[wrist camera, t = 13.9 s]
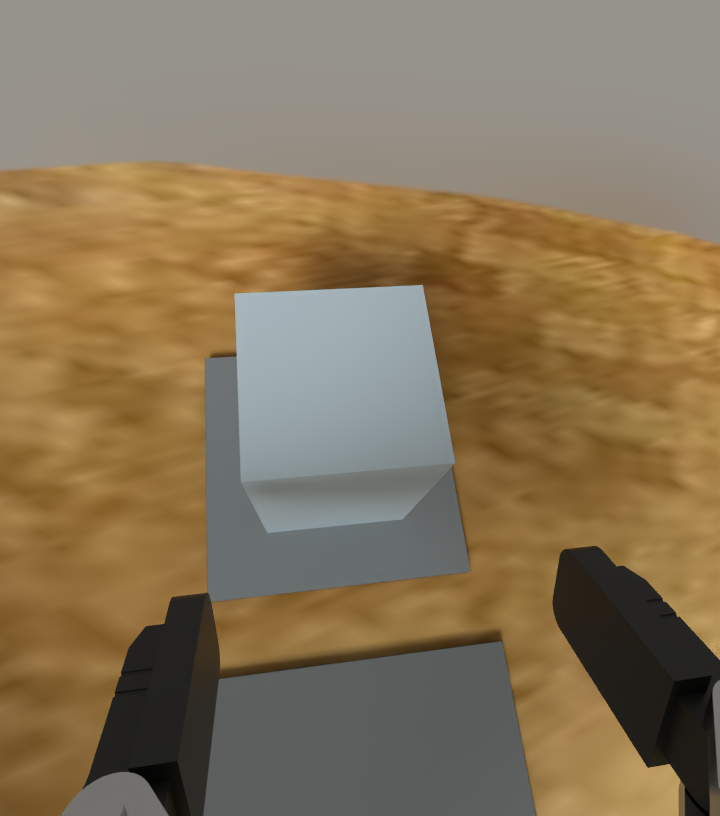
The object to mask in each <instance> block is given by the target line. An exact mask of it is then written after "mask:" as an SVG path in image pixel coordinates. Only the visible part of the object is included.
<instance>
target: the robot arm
mask: <svg viewBox="0 0 720 816" xmlns="http://www.w3.org/2000/svg"><path fill="white" fill-rule="evenodd" d="M553 611H554V615H555V619H556V621H557V624H558V626H559V628H560V630H561V631H562V633H563V634H564V636H565V638H566V639H567V641H568V642H569V644H570V645H571V647H572V649H573V650H574V652H575V653H576V655H577V657H578V658H579V660H580V661H581V663H582V664H583V666H584V668H585V669H586V671H587V672H588V674H589V676H590V677H591V679H592V680H593V682H594V683H595V685H596V687H597V688H598V690H599V691H600V693H601V695H602V696H603V698H604V699H605V701H606V702H607V704H608V706H609V707H610V709H611V710H612V712H613V714H614V715H615V717H616V718H617V720H618V721H619V723H620V725H621V726H622V728H623V729H624V731H625V732H626V734H627V736H628V737H629V739H630V740H631V742H632V744H633V745H634V747H635V748H636V750H637V751H638V753H639V755H640V756H641V758H642V759H643V761H644V763H645V764H646V766H647V767H648V768H649V767H655V766H660V765H666V764H670V765H671V766H672V768H673V769H674V771H675V772H676V774H677V775H678V777H679V778H680V780H681V781H680V784H679V816H720V660H719V659H718V658H717V657H716V656H715V655H714V653H713V652H712V651H711V650H710V649H709V648H708V647H707V646H706V645H705V644H704V643H703V642H702V640H701V639H700V638H699V637H698V636H697V635H696V634H695V633H694V632H693V631H692V630H691V629H690V627H689V626H688V625H687V624H686V623H685V622H684V621H683V620H682V619H681V618H680V617H677V616H676V612H675V611H674V610H673V609H672V608H671V607H670V606H669V605H668V604H667V603H666V602H663V600H662V597H661V596H660V595H659V594H658V593H657V592H656V591H655V590H654V588H653V587H652V586H651V585H650V584H649V583H648V582H647V581H646V580H645V579H643V578H642V577H640V576H638V575H637V574H635V573H634V572H632V571H631V570H629V569H628V568H626V567H624V566H618V567H616V565H615V564H614V563H613V562H612V561H611V560H610V559H609V557H608V556H607V555H606V554H605V553H604V552H603V551H602V550H601V549H600V548H599V547H597V546H590V547H581V548H573V549H565V550H563V551H562V552H561V554H560V558H559V564H558V570H557V577H556V583H555V589H554V595H553ZM219 672H220V655H219V644H218V638H217V633H216V627H215V621H214V616H213V610H212V604H211V599H210V595H209V594H208V593H202V594H194V595H186V596H177V597H172V599H171V601H170V604H169V608H168V612H167V616H166V620H165V624H161V625H153V626H146V627H145V628H144V629H143V631H142V632H141V633H140V634H139V636H138V637H137V638H136V640H135V641H134V642H133V643H132V645H131V646H130V647H129V649H128V652H127V655H126V658H125V662H124V665H123V668H122V671H121V677H120V678H119V681H118V684H117V687H116V690H115V697H113V700H112V703H111V706H110V709H109V713H108V716H107V719H106V722H105V725H104V728H103V732H102V735H101V738H100V741H99V744H98V748H97V751H96V754H95V757H94V760H93V763H92V767H91V770H90V773H89V776H88V778H87V781H86V783H85V785H84V787H83V789H82V791H80V792H79V793H78V794H77V795H76V796H75V797H74V798H73V799H72V801H71V802H70V803H69V804H68V806H67V807H66V808H65V810H64V812H63V813H62V815H61V816H203V814H204V805H205V796H206V787H207V779H208V770H209V761H210V752H211V744H212V735H213V726H214V717H215V709H216V700H217V691H218V682H219Z"/></svg>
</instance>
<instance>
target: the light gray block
mask: <svg viewBox="0 0 720 816" xmlns="http://www.w3.org/2000/svg"><path fill="white" fill-rule="evenodd" d="M235 318H236V349H237V380H238V410H239V441H240V472H241V483H242V485H243V487H244V489H245V491H246V493H247V495H248V497H249V499H250V501H251V503H252V505H253V506H254V508H255V510H256V512H257V514H258V516H259V518H260V520H261V522H262V524H263V526H264V528H265V529H266V531H267V533H273V532H283V531H293V530H303V529H312V528H322V527H332V526H342V525H352V524H362V523H372V522H382V521H392V520H402V519H403V518H404V517H405V516H406V515H407V514H408V513H409V512H410V511H411V510H412V509H413V508H414V507H415V505H416V504H417V503H418V502H419V501H420V500H421V499H422V498H423V497H424V496H425V495H426V494H427V493H428V492H429V491H430V490H431V488H432V487H433V486H434V485H435V484H436V483H437V482H438V481H439V480H440V479H441V478H442V477H443V476H444V475H445V474H446V473H447V471H448V470H449V469H450V468H451V467H452V466H453V465H454V464H455V458H454V453H453V447H452V442H451V436H450V431H449V425H448V420H447V415H446V409H445V404H444V398H443V393H442V387H441V382H440V376H439V371H438V366H437V360H436V355H435V349H434V344H433V338H432V333H431V327H430V322H429V317H428V311H427V306H426V300H425V295H424V289H423V285H413V286H391V287H369V288H348V289H326V290H304V291H283V292H261V293H240V294H235Z"/></svg>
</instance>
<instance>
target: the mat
mask: <svg viewBox="0 0 720 816" xmlns="http://www.w3.org/2000/svg"><path fill="white" fill-rule="evenodd" d="M203 816H536V814H535V809H534V804H533V799H532V793H531V788H530V783H529V778H528V773H527V767H526V762H525V757H524V752H523V747H522V742H521V736H520V731H519V726H518V721H517V716H516V711H515V705H514V700H513V695H512V690H511V685H510V679H509V674H508V669H507V664H506V659H505V654H504V648H503V643H502V641H496V642H488V643H481V644H473V645H466V646H459V647H451V648H444V649H436V650H429V651H421V652H414V653H406V654H399V655H391V656H384V657H376V658H369V659H361V660H354V661H346V662H339V663H331V664H324V665H316V666H309V667H301V668H294V669H286V670H279V671H271V672H264V673H256V674H249V675H242V676H234V677H227V678H219V682H218V691H217V700H216V709H215V717H214V726H213V735H212V744H211V752H210V761H209V770H208V779H207V787H206V796H205V805H204V814H203Z"/></svg>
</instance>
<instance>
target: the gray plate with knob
mask: <svg viewBox="0 0 720 816" xmlns="http://www.w3.org/2000/svg"><path fill="white" fill-rule="evenodd" d="M205 392H206V499H207V593H208V594H209V595H210V599H211V602H219V601H227V600H236V599H244V598H253V597H262V596H270V595H279V594H287V593H296V592H305V591H313V590H322V589H330V588H339V587H348V586H356V585H365V584H373V583H382V582H391V581H399V580H408V579H416V578H425V577H434V576H442V575H451V574H459V573H467V572H471V571H470V566H469V560H468V555H467V549H466V544H465V538H464V533H463V527H462V522H461V516H460V511H459V505H458V500H457V494H456V488H455V483H454V477H453V472H452V467H451V468H450V469H449V470H448V471H447V473H446V474H445V475H444V476H443V477H442V478H441V479H440V480H439V481H438V482H437V483H436V484H435V485H434V486H433V487H432V488H431V490H430V491H429V492H428V493H427V494H426V495H425V496H424V497H423V498H422V499H421V500H420V501H419V502H418V503H417V504H416V505H415V507H414V508H413V509H412V510H411V511H410V512H409V513H408V514H407V515H406V516H405V517H404V518H403V519H402V520H392V521H382V522H372V523H362V524H352V525H342V526H332V527H322V528H312V529H303V530H293V531H283V532H273V533H267V531H266V529H265V528H264V526H263V524H262V522H261V520H260V518H259V516H258V514H257V512H256V510H255V508H254V506H253V505H252V503H251V501H250V499H249V497H248V495H247V493H246V491H245V489H244V487H243V485H242V483H241V472H240V441H239V410H238V380H237V356H236V357H219V358H205Z"/></svg>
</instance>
